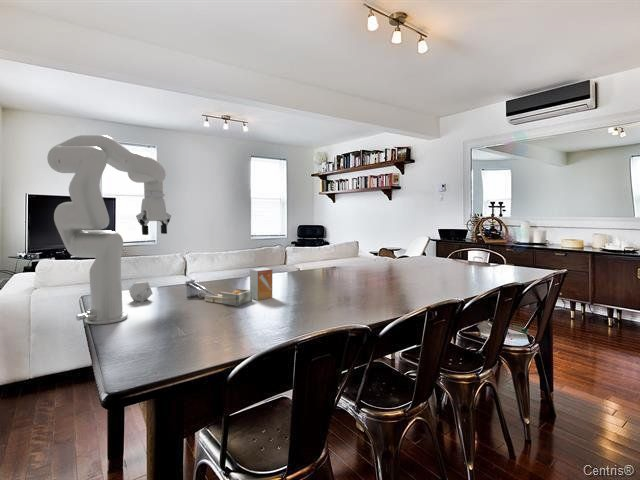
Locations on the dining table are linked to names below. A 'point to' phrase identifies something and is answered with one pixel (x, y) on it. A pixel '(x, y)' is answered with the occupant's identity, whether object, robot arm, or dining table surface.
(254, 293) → the small box
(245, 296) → the lane
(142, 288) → the die
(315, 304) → the dining table surface
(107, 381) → the dining table surface
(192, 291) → the ramp
